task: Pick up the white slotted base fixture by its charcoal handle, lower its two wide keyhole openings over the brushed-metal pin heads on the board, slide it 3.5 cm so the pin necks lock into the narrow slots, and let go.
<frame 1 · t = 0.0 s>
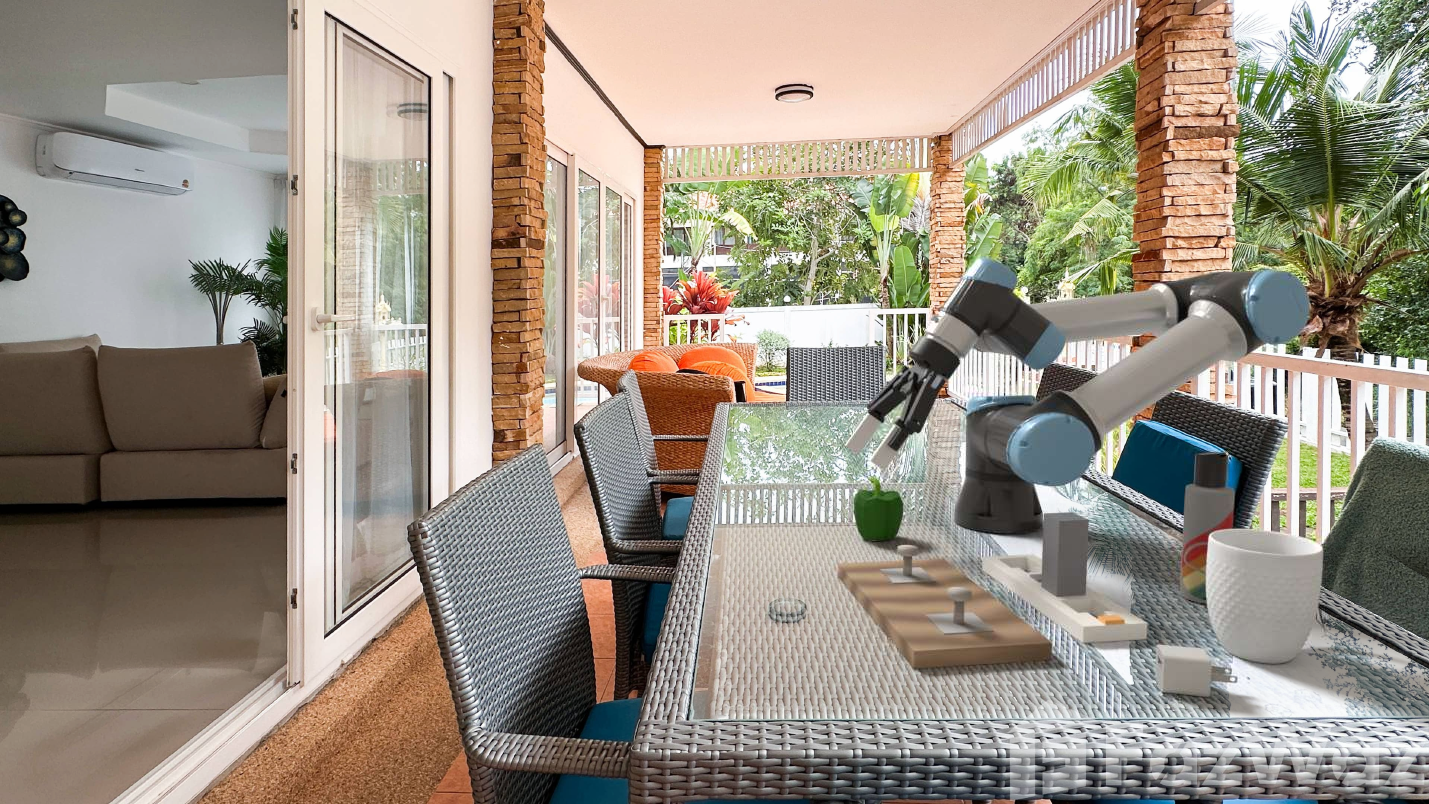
hand: (863, 457, 138), 15 cm above the table, tool tilted 35°, fingers open, 13 cm apart
bell pepper: (877, 539, 148), on the table
usb wall charger: (1195, 692, 90), on the table
mug: (1262, 652, 100), on the table
pin board: (930, 612, 113), on the table
white slotted base fixture: (1062, 605, 115), on the table
lotion bottle: (1203, 599, 117), on the table
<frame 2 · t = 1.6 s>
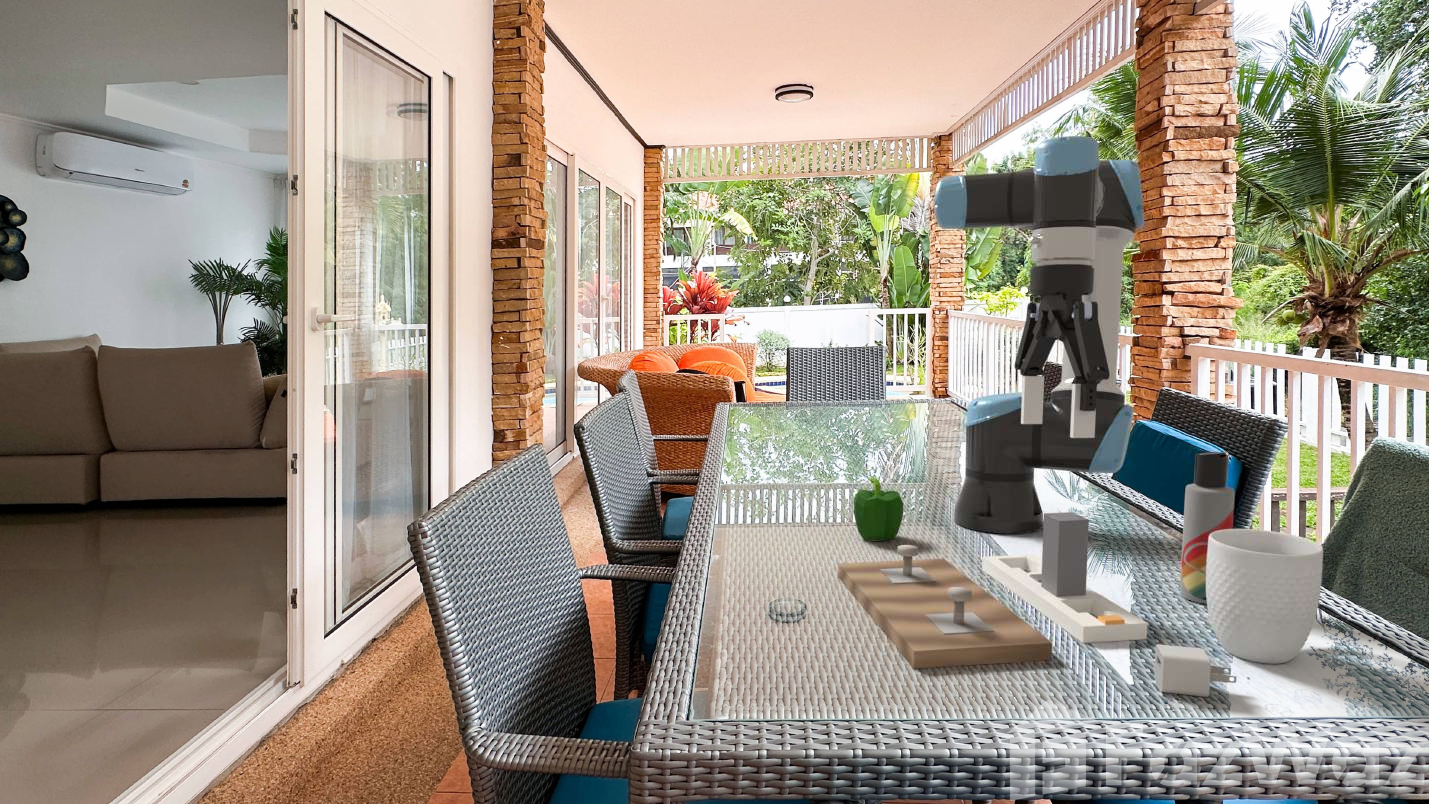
hand: (1055, 430, 113), 23 cm above the table, tool pointing down, fingers open, 13 cm apart
nothing on the table moved.
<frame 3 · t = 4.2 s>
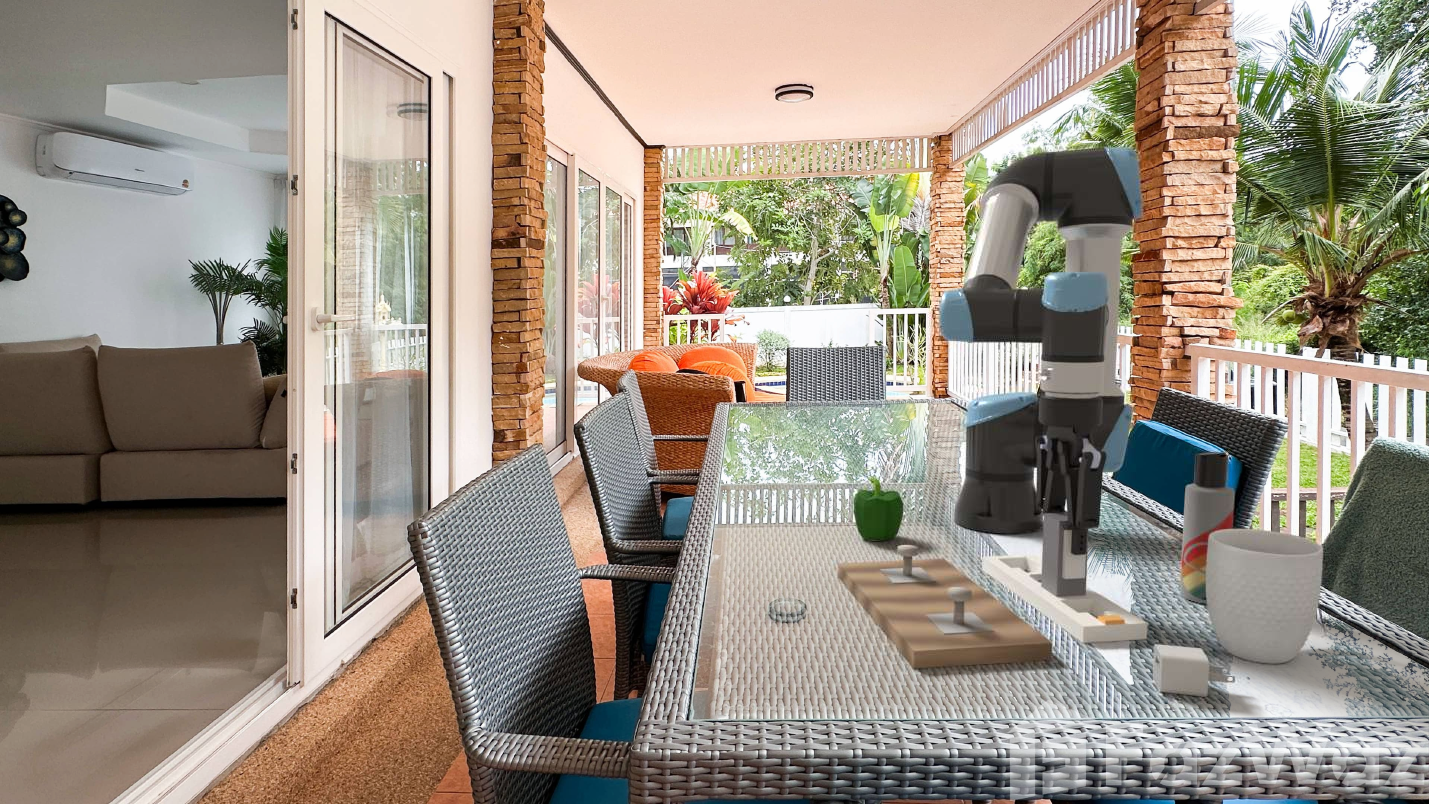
hand: (1063, 571, 114), 5 cm above the table, tool pointing down, fingers closed on white slotted base fixture, 4 cm apart
white slotted base fixture: (1062, 605, 115), on the table, touching gripper
everything else where it was.
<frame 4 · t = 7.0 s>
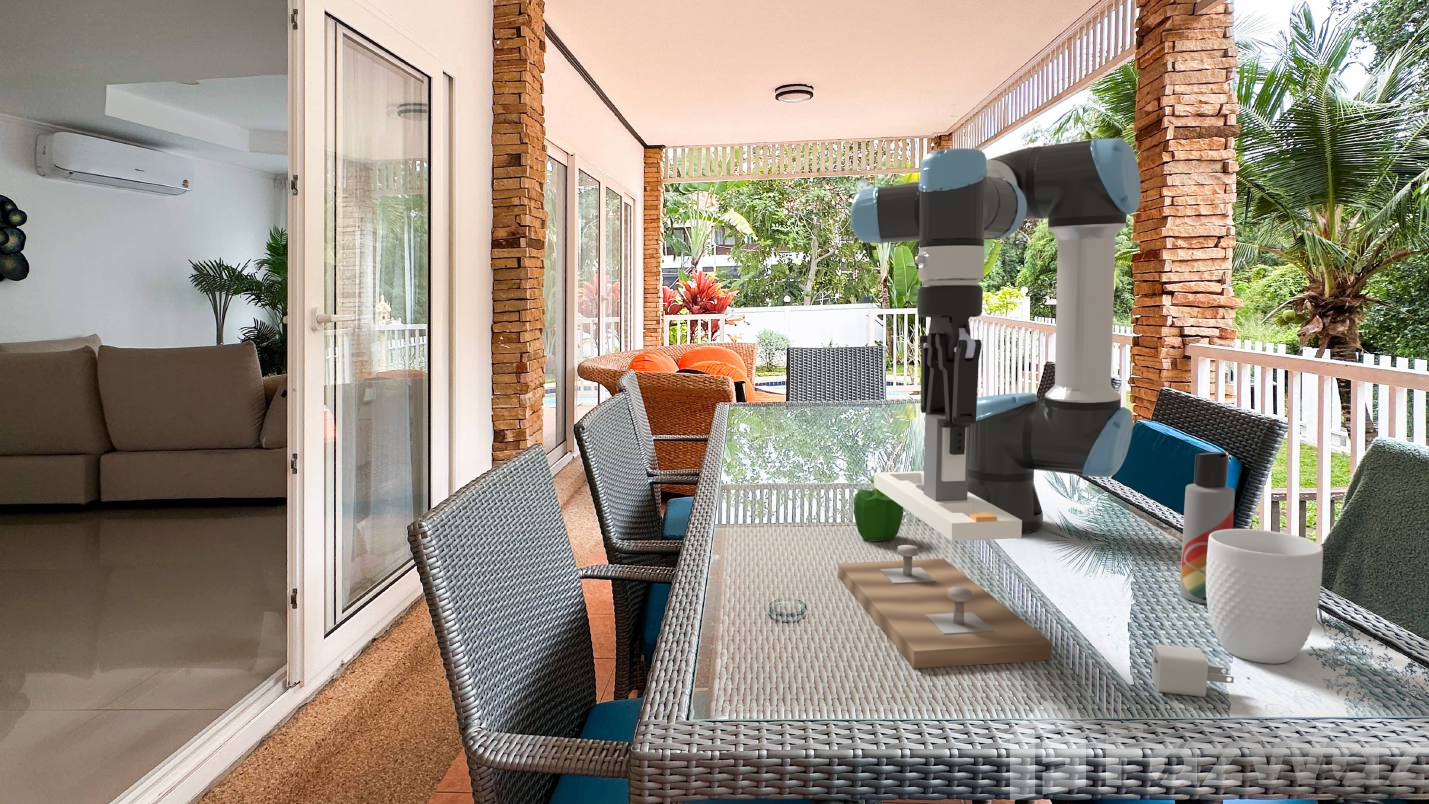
hand: (945, 476, 107), 19 cm above the table, tool pointing down, fingers closed on white slotted base fixture, 4 cm apart
white slotted base fixture: (944, 513, 108), point 14 cm above the table, touching gripper
everything else where it was.
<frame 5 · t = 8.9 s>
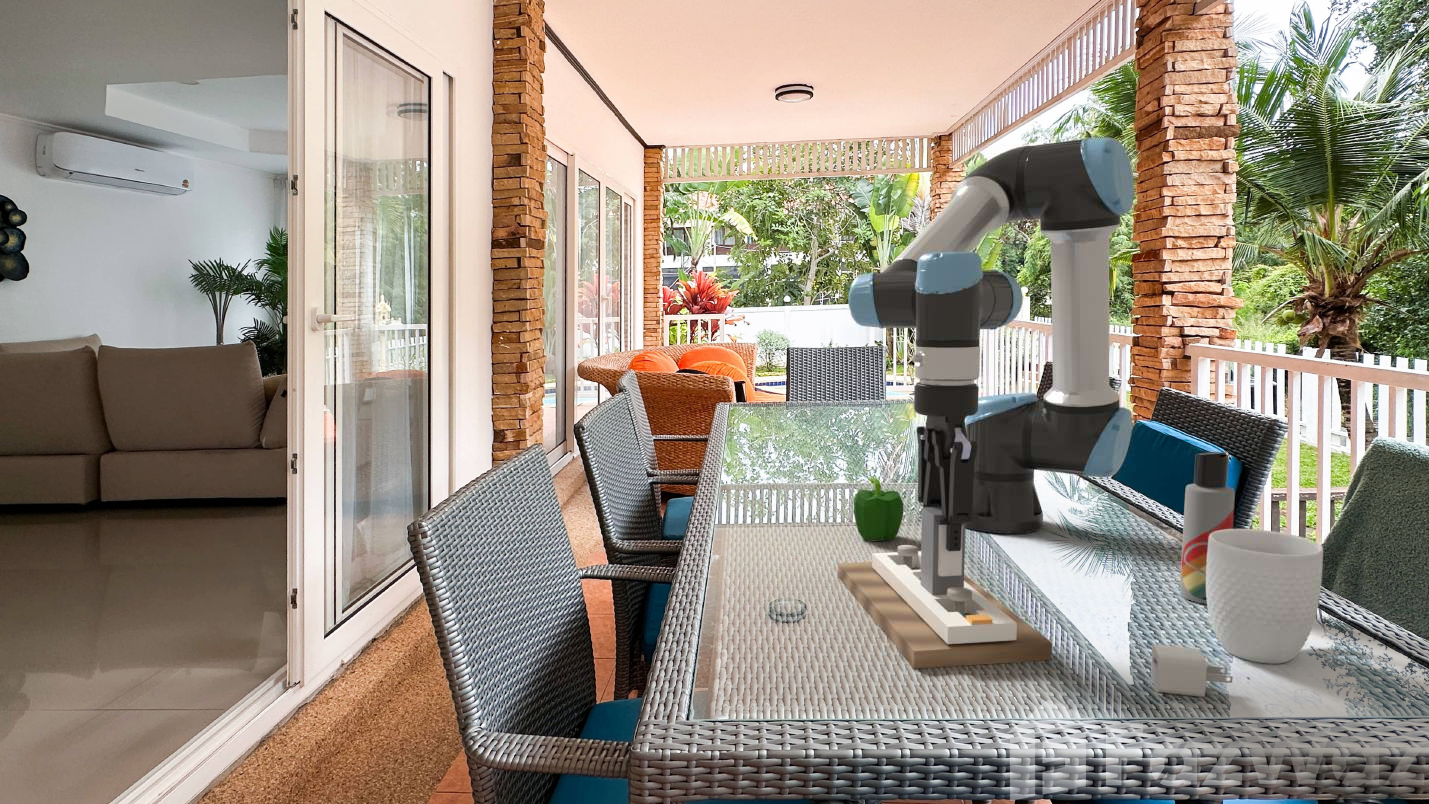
hand: (942, 568, 108), 7 cm above the table, tool pointing down, fingers closed on white slotted base fixture, 4 cm apart
white slotted base fixture: (941, 604, 109), point 2 cm above the table, touching gripper
everything else where it was.
when the fingers open (7 cm above the table, at t = 10.2 s): white slotted base fixture stays where it is, resting on pin board.
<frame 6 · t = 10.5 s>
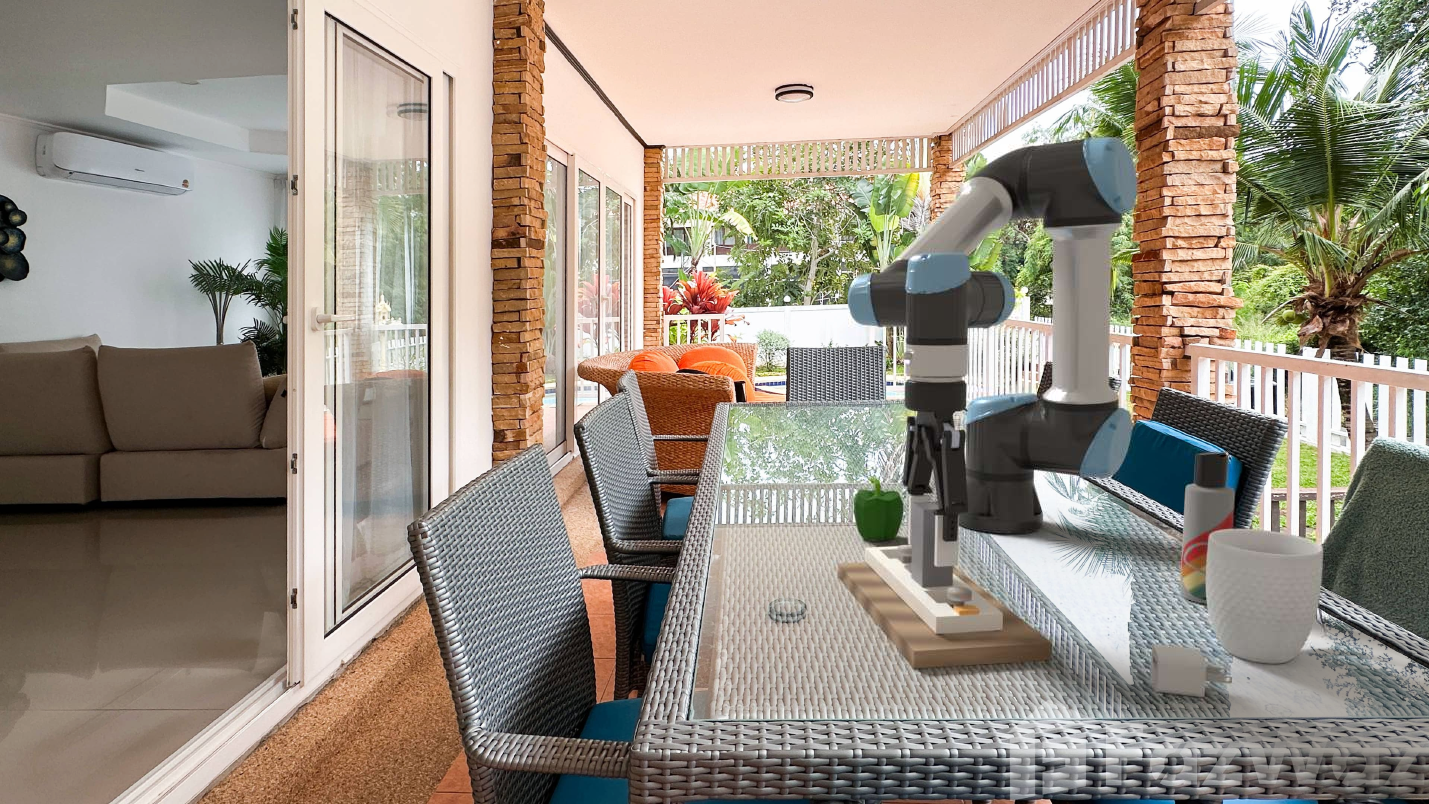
hand: (931, 553, 112), 8 cm above the table, tool pointing down, fingers open, 9 cm apart
white slotted base fixture: (931, 596, 112), point 2 cm above the table, touching pin board
everything else where it was.
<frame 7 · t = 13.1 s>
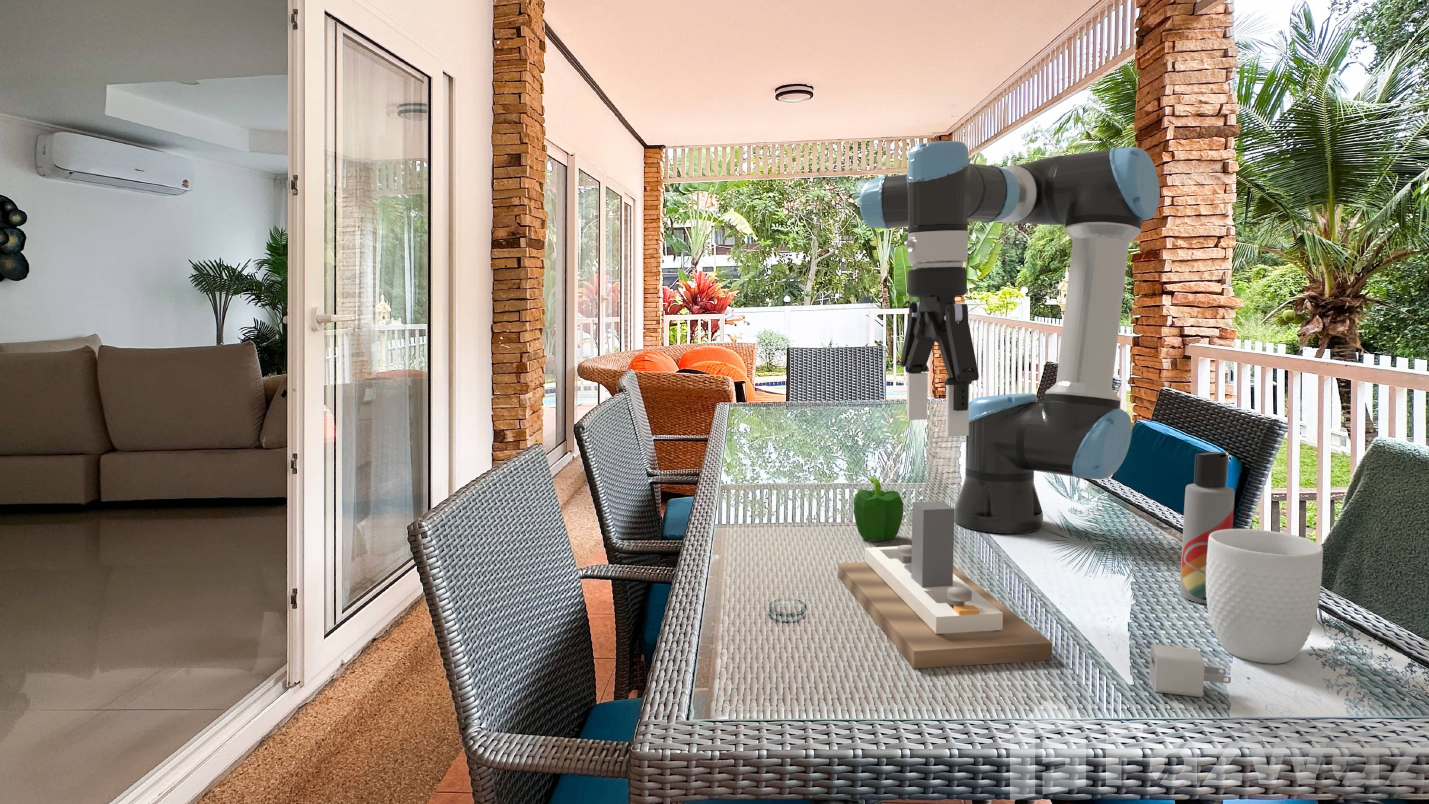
hand: (936, 427, 116), 23 cm above the table, tool pointing down, fingers open, 13 cm apart
nothing on the table moved.
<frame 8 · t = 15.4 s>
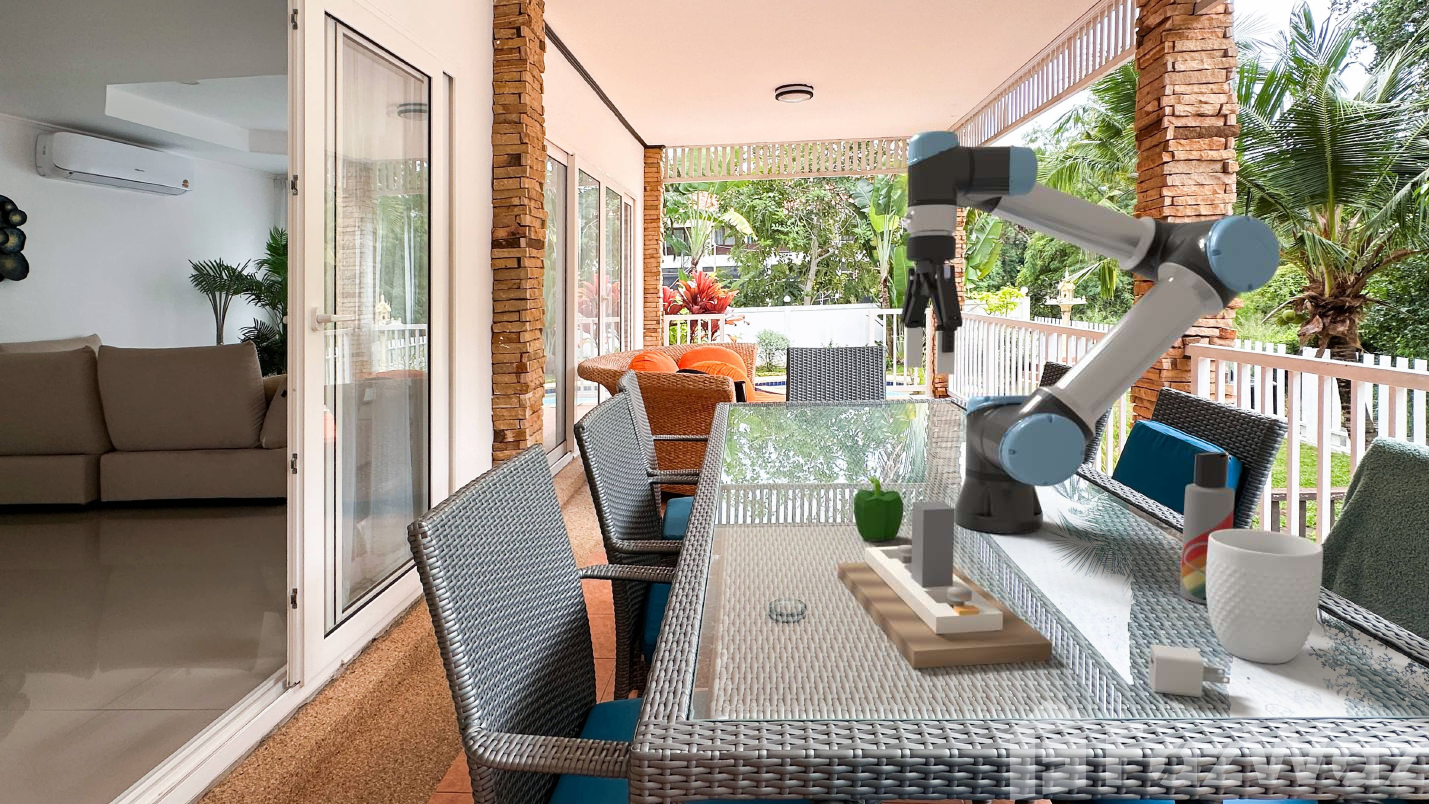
hand: (928, 370, 139), 29 cm above the table, tool pointing down, fingers open, 13 cm apart
nothing on the table moved.
at the end: white slotted base fixture 0.0 cm off-centre on the pin board, point 2.1 cm above the pin board's base; the gripper is holding nothing; white slotted base fixture tilted 0° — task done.
